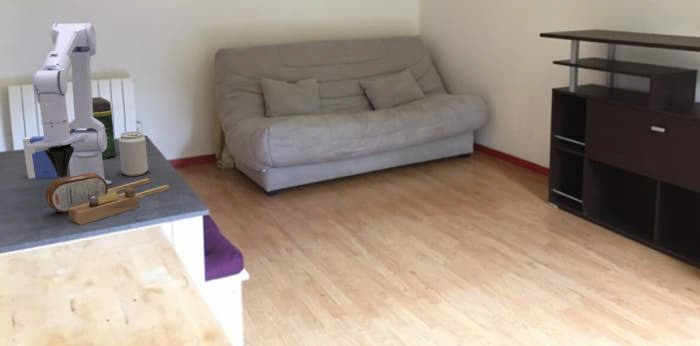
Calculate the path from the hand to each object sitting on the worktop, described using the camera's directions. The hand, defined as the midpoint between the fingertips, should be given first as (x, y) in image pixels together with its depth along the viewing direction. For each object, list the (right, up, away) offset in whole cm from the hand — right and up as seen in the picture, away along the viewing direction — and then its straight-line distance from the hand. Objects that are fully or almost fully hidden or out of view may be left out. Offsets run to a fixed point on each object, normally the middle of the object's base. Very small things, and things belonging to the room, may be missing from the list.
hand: (62, 176), depth 168 cm
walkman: (-19, -1, +33) cm, 38 cm away
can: (+6, +1, +36) cm, 37 cm away
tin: (+1, -8, +8) cm, 12 cm away
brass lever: (+9, -6, +2) cm, 11 cm away
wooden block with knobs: (+9, -9, +4) cm, 14 cm away
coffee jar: (-9, +6, +54) cm, 55 cm away
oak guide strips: (+12, -4, +19) cm, 23 cm away
